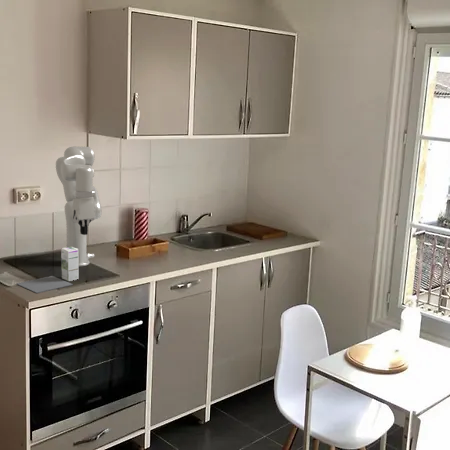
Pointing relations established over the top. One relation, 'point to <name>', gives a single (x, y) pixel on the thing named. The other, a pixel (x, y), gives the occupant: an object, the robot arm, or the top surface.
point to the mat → (44, 284)
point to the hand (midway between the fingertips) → (84, 234)
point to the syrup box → (69, 263)
